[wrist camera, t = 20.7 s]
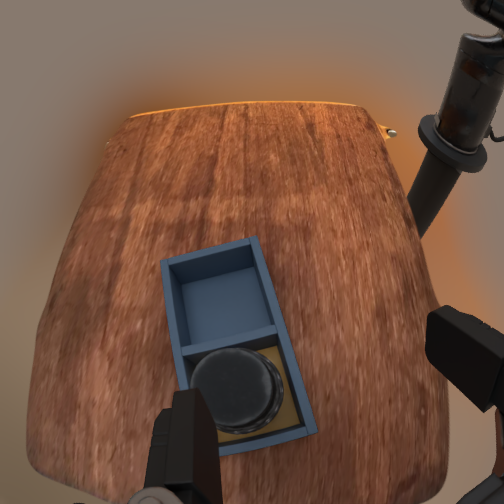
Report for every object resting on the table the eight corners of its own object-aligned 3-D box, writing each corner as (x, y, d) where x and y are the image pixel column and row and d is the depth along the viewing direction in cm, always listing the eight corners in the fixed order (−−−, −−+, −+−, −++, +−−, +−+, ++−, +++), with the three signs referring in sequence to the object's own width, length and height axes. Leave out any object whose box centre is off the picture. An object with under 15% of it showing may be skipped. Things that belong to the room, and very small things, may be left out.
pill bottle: (294, 386, 25) (307, 371, 15) (257, 440, 22) (245, 459, 13) (238, 352, 27) (217, 316, 17) (201, 403, 24) (157, 396, 15)
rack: (259, 260, 32) (256, 235, 28) (310, 428, 23) (318, 432, 19) (174, 282, 32) (159, 260, 28) (209, 452, 22) (196, 459, 18)
